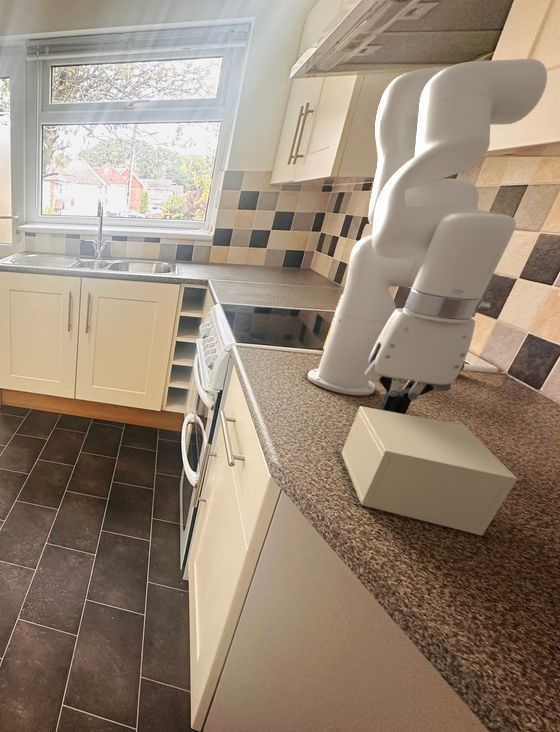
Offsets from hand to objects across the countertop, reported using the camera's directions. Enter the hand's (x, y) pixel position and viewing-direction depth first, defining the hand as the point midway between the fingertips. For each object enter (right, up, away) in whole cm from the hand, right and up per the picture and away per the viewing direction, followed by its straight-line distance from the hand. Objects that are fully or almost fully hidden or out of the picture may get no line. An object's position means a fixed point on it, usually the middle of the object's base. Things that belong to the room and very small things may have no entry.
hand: (389, 416), depth 68 cm
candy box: (+24, +13, +45) cm, 52 cm away
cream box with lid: (-5, -10, -9) cm, 14 cm away
